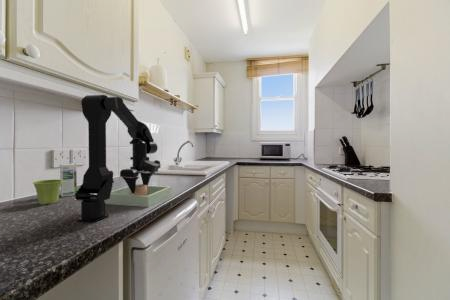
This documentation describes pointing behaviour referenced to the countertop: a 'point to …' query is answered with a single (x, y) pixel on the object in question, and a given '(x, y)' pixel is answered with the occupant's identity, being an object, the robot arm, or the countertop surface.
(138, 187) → the seedling pot
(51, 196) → the plant pot
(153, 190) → the green square tray
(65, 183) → the syrup box
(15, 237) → the countertop surface
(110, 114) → the robot arm
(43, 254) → the countertop surface
